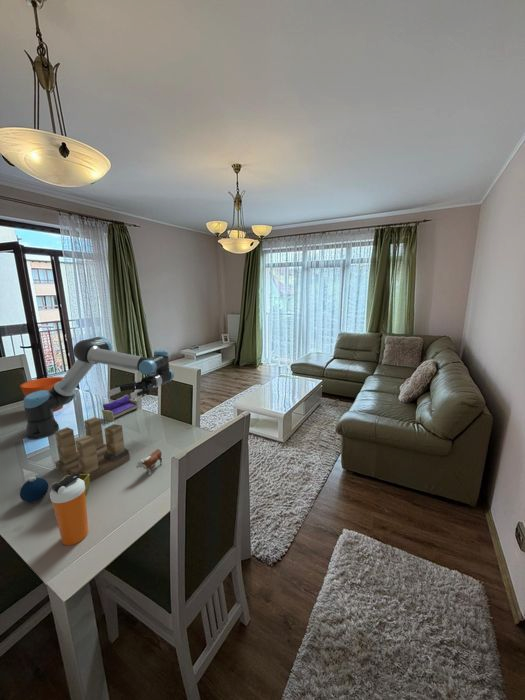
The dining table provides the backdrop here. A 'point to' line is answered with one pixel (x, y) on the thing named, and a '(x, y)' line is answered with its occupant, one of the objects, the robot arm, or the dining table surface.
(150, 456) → the bull figurine
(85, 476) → the flower pot
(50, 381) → the flowerpot
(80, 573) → the dining table surface
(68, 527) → the shaker bottle
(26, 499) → the christmas ornament
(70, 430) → the tan post-studded fixture
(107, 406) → the toy sofa
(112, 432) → the stool leg
